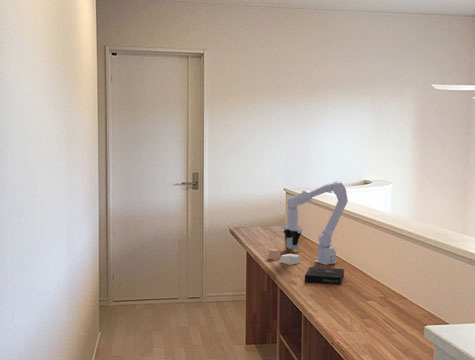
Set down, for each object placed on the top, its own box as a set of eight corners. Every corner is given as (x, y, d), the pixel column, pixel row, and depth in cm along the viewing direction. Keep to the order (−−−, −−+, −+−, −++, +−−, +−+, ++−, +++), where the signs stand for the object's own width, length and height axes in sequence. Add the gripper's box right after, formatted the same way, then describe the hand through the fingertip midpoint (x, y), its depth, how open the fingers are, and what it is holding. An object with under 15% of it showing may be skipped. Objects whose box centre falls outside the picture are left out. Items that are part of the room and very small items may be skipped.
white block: (299, 263, 301) (299, 255, 301) (289, 265, 297) (290, 257, 296) (290, 260, 307) (290, 253, 306) (281, 262, 302) (281, 255, 302)
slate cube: (298, 247, 303) (298, 238, 302) (291, 248, 300) (291, 239, 300) (293, 246, 306) (293, 237, 306) (286, 247, 304) (286, 237, 304)
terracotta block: (280, 258, 311) (280, 249, 311) (275, 260, 308) (275, 251, 307) (274, 257, 314) (274, 248, 314) (268, 258, 311) (268, 249, 310)
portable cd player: (343, 276, 274) (343, 268, 273) (340, 286, 257) (340, 277, 257) (310, 274, 278) (310, 266, 278) (304, 283, 262) (304, 275, 261)
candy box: (300, 251, 328) (300, 225, 327) (295, 252, 326) (295, 226, 324) (289, 249, 335) (289, 224, 334) (284, 250, 333) (284, 224, 331)
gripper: (278, 218, 306) (278, 242, 307) (294, 221, 294) (294, 247, 295) (289, 217, 310) (289, 241, 311) (305, 220, 297) (304, 246, 298)
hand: (292, 244), depth 303 cm, fingers closed on slate cube, 4 cm apart
